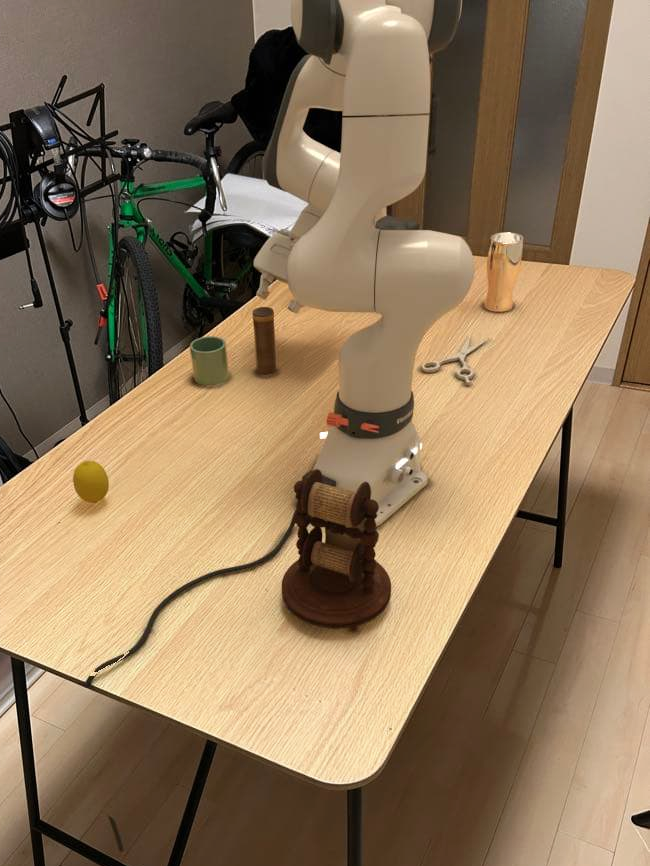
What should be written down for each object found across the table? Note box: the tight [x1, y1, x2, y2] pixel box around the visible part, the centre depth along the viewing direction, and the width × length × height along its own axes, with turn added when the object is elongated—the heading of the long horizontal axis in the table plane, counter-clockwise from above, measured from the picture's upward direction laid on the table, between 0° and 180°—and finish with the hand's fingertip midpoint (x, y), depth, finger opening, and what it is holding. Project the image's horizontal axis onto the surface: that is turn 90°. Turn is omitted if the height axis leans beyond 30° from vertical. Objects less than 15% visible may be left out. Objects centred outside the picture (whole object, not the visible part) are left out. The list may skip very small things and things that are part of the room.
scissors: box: [421, 333, 491, 386], centre depth 162 cm, size 11×1×20 cm
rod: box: [251, 306, 278, 376], centre depth 160 cm, size 4×4×13 cm
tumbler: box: [189, 335, 230, 386], centre depth 161 cm, size 7×7×8 cm
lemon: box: [72, 460, 110, 504], centre depth 132 cm, size 6×6×8 cm
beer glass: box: [483, 231, 524, 313], centre depth 175 cm, size 7×7×15 cm
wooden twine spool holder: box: [281, 469, 392, 633], centre depth 106 cm, size 15×15×20 cm
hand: (275, 304), depth 157 cm, fingers open, 8 cm apart
